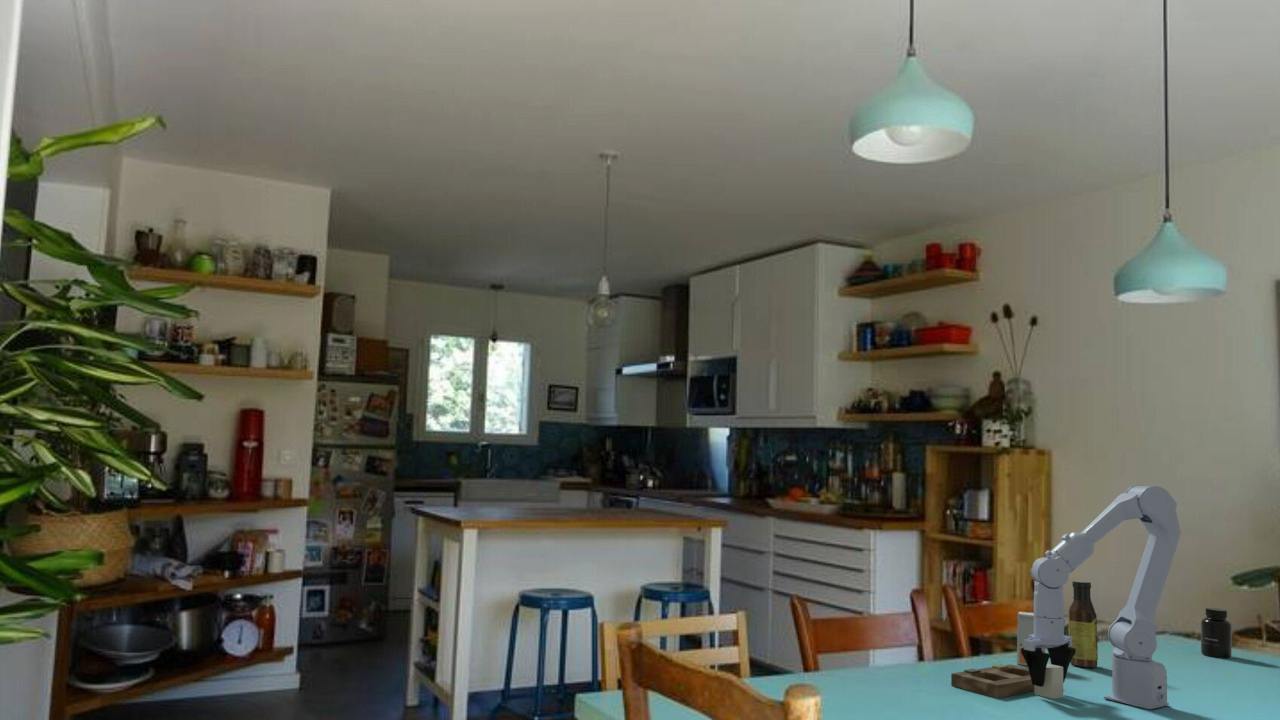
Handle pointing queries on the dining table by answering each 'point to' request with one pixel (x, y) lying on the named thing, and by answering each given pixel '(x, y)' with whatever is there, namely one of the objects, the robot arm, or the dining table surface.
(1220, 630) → the supplement bottle
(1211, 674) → the dining table surface
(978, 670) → the grey tag
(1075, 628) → the sauce bottle
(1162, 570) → the robot arm
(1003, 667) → the brass tag
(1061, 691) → the plug
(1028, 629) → the skincare box
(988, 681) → the socket board
